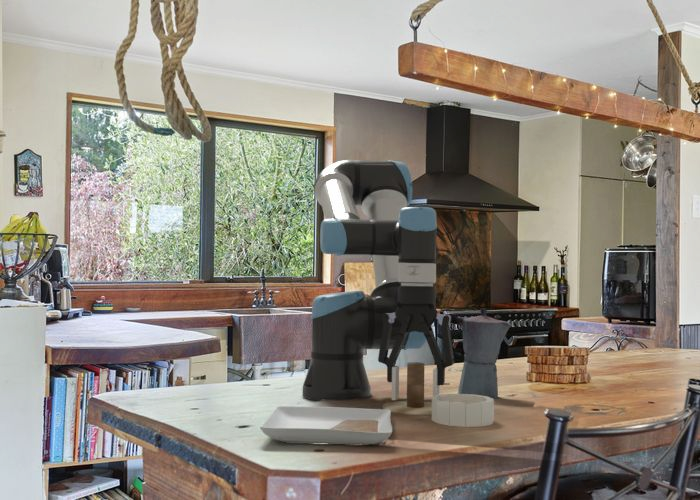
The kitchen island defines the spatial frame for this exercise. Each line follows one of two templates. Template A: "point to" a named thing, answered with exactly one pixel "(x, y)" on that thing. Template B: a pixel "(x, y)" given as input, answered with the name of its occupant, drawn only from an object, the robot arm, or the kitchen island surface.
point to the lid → (412, 393)
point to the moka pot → (480, 353)
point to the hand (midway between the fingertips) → (415, 400)
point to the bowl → (463, 410)
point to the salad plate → (325, 425)
